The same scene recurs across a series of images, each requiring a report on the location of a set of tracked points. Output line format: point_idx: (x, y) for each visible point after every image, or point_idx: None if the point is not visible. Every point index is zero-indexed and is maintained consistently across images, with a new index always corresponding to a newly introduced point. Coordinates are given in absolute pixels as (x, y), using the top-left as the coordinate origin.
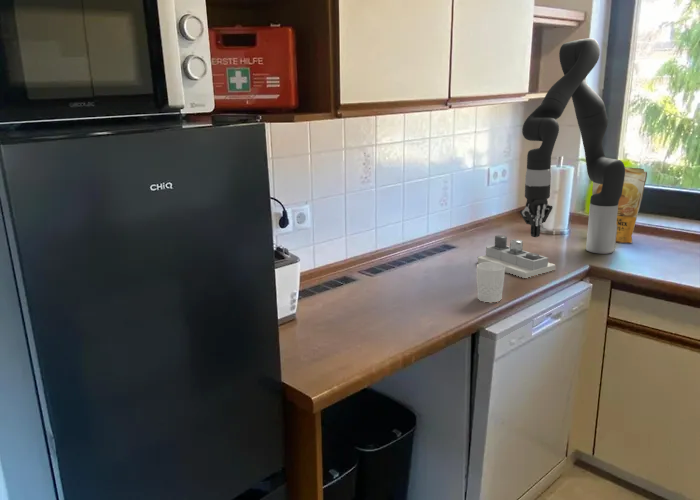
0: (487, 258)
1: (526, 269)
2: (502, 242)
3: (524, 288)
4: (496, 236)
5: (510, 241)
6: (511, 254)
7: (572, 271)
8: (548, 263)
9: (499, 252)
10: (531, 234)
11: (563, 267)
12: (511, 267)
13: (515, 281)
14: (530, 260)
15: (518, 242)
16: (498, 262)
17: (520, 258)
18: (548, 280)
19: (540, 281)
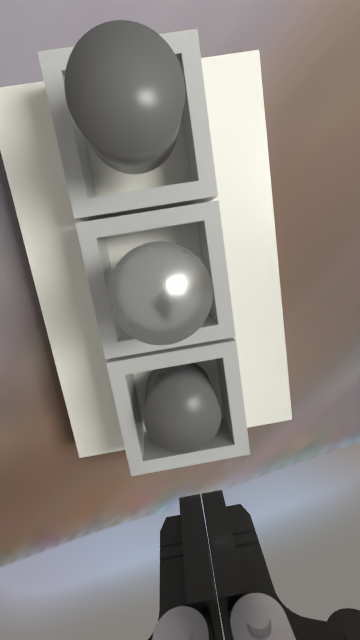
0: (30, 152)
1: (115, 420)
2: (111, 161)
3: (10, 525)
4: (87, 57)
5: (114, 268)
6: (100, 311)
7: (335, 442)
8: (278, 390)
9: (73, 207)
10: (164, 532)
11: (347, 385)
12: (65, 363)
13: (25, 448)
14: (127, 455)
15: (144, 339)
16: (49, 257)
17: (112, 385)
18: (163, 489)
19: (125, 486)
